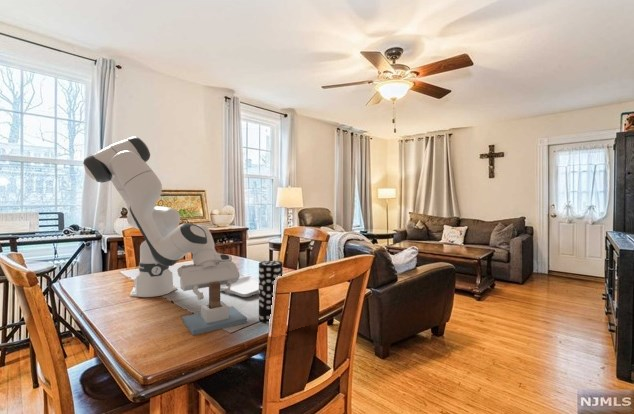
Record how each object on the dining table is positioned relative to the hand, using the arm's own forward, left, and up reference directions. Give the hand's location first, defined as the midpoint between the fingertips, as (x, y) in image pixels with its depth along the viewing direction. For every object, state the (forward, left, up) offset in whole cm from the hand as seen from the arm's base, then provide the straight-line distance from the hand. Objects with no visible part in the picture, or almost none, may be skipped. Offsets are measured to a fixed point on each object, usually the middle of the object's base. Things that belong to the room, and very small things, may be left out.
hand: (215, 296), depth 107 cm
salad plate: (-29, +24, -10) cm, 39 cm away
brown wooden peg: (-1, 0, -8) cm, 8 cm away
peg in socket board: (-1, 0, -9) cm, 9 cm away
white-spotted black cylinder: (+8, +17, -9) cm, 21 cm away
